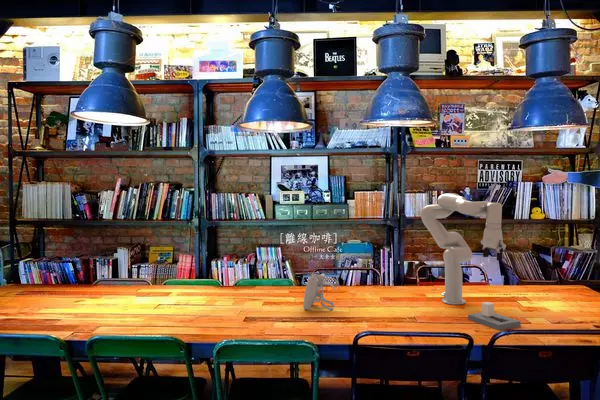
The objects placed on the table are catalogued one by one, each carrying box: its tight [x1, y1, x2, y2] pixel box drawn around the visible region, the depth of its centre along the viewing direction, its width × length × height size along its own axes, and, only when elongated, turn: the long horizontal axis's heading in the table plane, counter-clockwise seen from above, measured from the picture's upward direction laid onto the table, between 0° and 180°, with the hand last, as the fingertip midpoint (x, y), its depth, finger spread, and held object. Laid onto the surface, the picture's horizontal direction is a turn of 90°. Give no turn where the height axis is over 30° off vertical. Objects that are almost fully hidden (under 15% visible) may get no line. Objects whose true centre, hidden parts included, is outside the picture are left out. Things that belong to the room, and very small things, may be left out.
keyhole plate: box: [467, 311, 522, 331], centre depth 247 cm, size 20×14×2 cm
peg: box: [481, 301, 495, 317], centre depth 250 cm, size 4×4×9 cm
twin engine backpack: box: [303, 271, 341, 311], centre depth 278 cm, size 18×19×20 cm
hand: (492, 258), depth 264 cm, fingers open, 9 cm apart
